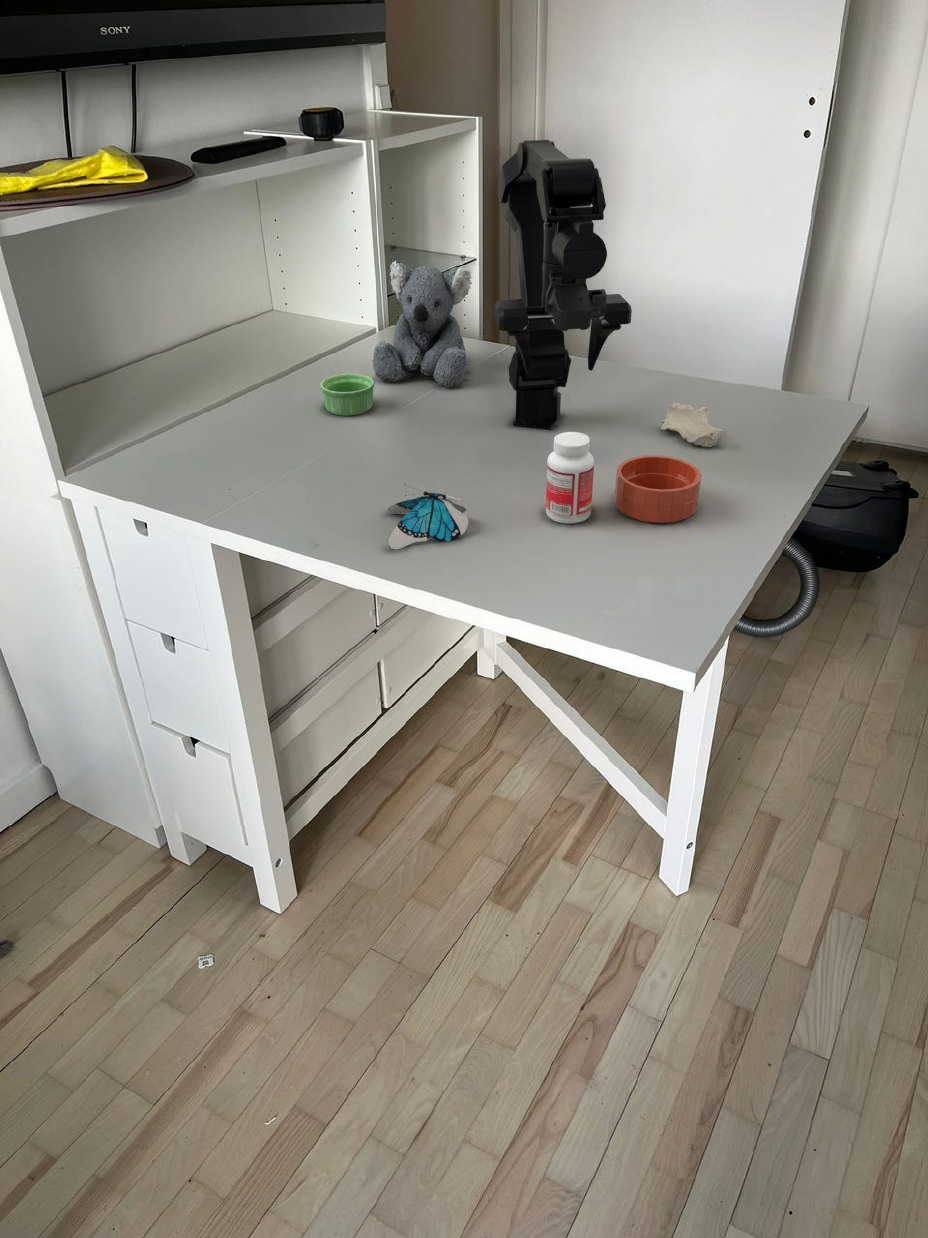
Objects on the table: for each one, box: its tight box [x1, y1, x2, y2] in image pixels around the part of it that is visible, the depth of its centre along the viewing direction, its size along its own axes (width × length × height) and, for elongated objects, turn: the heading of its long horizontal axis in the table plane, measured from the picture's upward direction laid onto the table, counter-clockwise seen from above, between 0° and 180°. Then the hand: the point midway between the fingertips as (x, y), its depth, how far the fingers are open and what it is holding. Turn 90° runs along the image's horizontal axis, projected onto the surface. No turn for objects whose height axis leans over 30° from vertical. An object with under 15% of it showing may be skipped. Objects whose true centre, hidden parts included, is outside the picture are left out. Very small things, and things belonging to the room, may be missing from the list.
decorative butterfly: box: [387, 483, 469, 550], centre depth 126 cm, size 10×6×10 cm
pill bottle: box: [545, 431, 595, 524], centre depth 127 cm, size 6×6×11 cm
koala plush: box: [372, 260, 473, 388], centre depth 173 cm, size 17×18×20 cm
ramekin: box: [320, 373, 375, 417], centre depth 162 cm, size 9×9×4 cm
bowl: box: [613, 454, 702, 524], centre depth 131 cm, size 11×11×5 cm
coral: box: [660, 401, 723, 448], centre depth 150 cm, size 6×10×4 cm, turn 45°
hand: (559, 371), depth 139 cm, fingers open, 9 cm apart
